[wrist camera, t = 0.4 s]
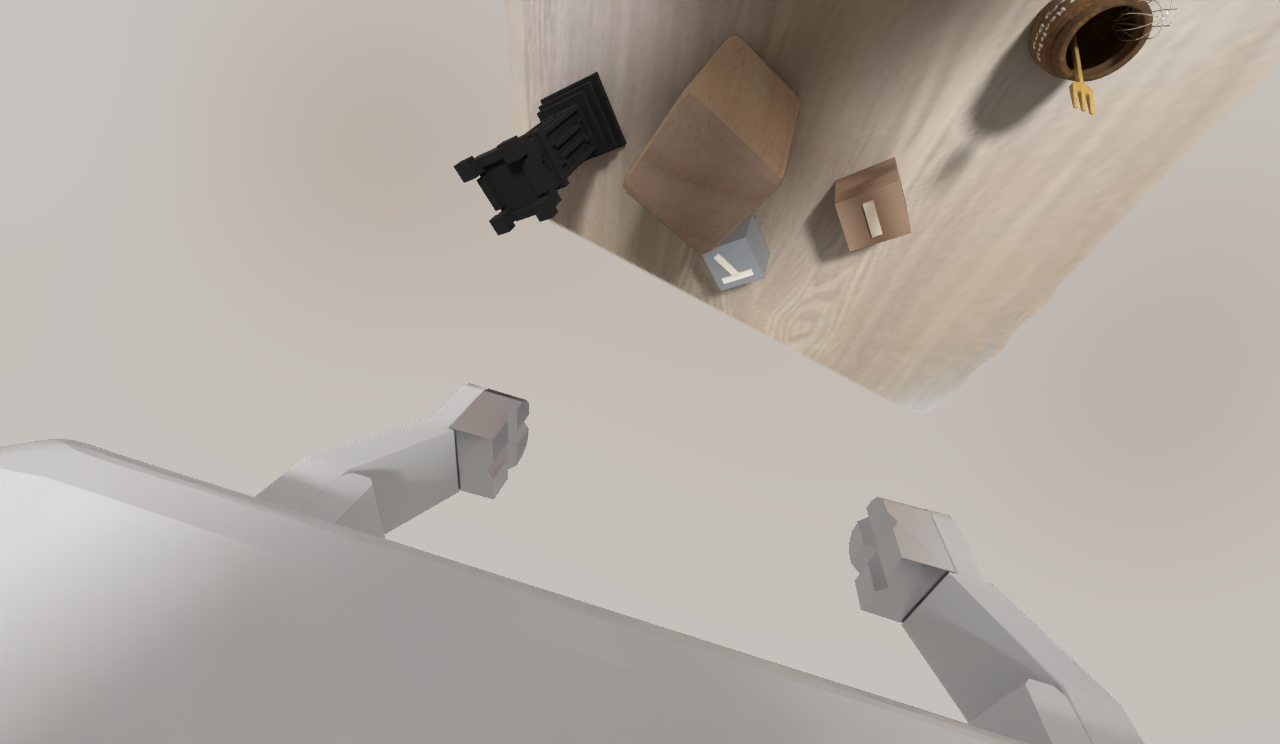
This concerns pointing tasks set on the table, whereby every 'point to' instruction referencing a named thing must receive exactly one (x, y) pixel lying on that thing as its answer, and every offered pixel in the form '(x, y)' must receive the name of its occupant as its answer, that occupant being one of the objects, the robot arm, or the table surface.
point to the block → (717, 148)
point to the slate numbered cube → (739, 256)
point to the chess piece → (545, 154)
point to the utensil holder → (1090, 40)
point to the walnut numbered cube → (872, 205)
